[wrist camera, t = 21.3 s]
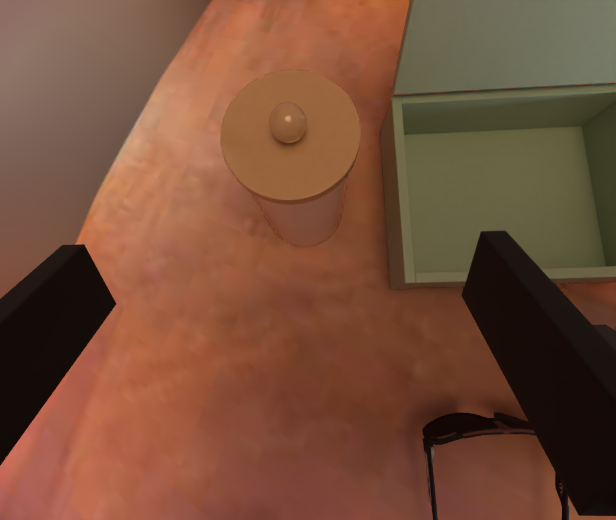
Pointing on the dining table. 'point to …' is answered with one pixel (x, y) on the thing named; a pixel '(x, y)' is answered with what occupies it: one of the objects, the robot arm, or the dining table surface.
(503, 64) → the box lid
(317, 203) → the canister
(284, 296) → the dining table surface
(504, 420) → the sunglasses
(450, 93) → the box
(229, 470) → the dining table surface
